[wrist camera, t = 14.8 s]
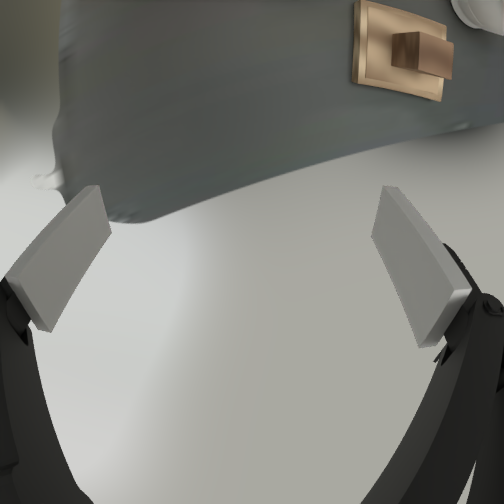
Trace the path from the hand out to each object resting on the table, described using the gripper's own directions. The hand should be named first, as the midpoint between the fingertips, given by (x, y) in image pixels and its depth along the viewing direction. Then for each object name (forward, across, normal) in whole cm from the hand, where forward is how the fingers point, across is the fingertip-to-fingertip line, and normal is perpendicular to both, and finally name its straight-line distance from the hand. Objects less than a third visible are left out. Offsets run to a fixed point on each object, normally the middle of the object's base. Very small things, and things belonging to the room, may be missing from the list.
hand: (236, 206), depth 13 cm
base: (+32, +21, +11) cm, 40 cm away
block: (+28, +21, +11) cm, 37 cm away
